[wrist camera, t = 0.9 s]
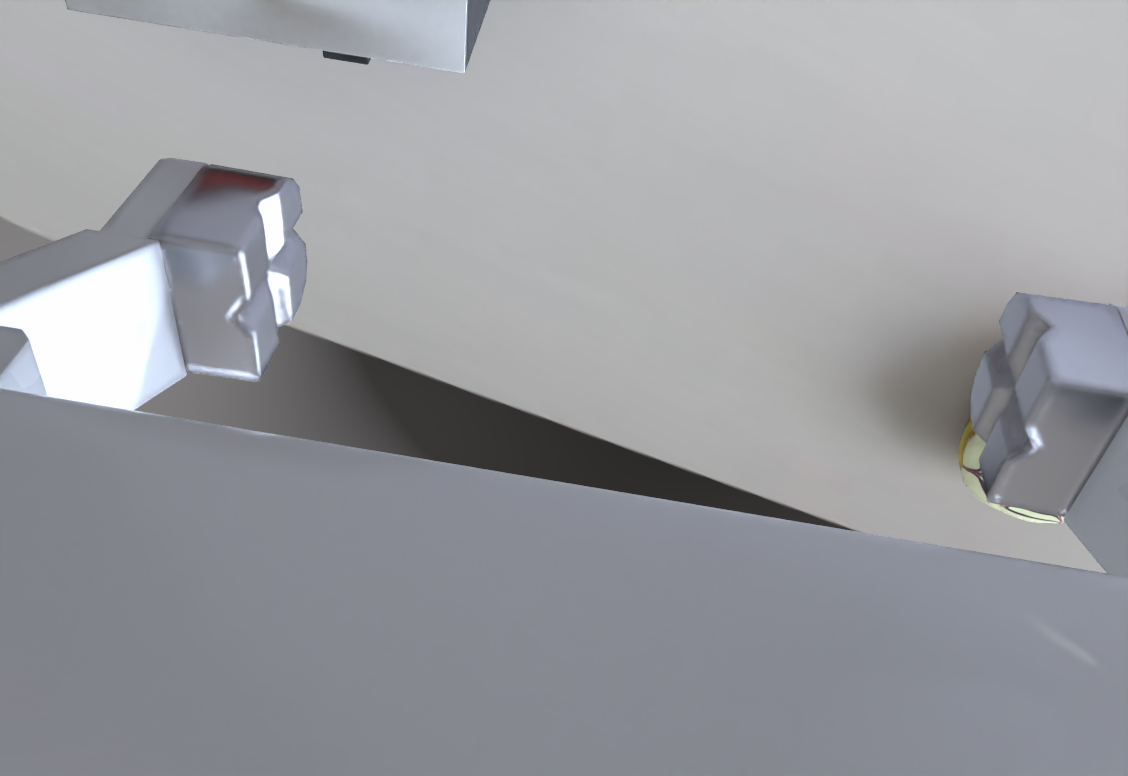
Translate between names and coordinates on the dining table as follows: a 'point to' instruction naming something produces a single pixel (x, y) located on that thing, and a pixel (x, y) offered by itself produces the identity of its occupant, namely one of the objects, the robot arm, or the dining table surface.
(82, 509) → the robot arm
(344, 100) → the dining table surface
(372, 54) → the glossy black box
